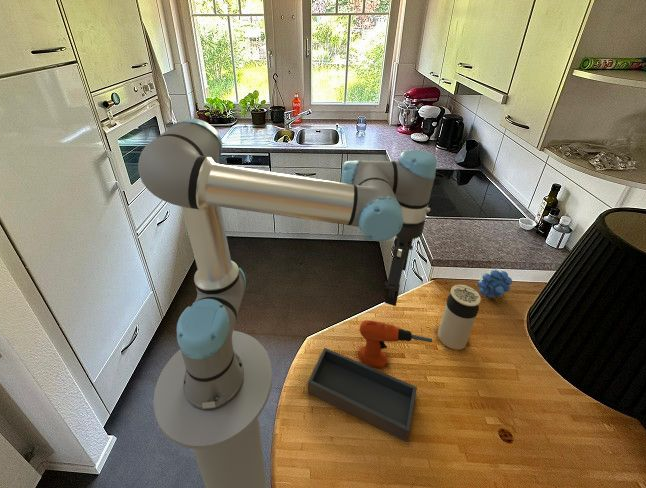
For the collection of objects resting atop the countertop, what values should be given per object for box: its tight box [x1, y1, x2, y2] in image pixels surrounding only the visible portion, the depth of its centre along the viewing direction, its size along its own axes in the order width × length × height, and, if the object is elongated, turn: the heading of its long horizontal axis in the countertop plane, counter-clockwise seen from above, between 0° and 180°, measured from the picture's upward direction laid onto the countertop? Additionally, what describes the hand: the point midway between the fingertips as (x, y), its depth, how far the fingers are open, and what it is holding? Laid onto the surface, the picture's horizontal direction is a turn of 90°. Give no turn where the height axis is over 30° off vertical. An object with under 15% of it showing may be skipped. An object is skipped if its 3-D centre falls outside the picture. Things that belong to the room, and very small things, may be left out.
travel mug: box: [437, 284, 482, 351], centre depth 92 cm, size 8×8×18 cm
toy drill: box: [358, 319, 433, 369], centre depth 85 cm, size 5×19×15 cm, turn 71°
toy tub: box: [307, 347, 418, 442], centre depth 81 cm, size 25×11×5 cm, turn 64°
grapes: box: [477, 269, 513, 299], centre depth 106 cm, size 12×7×12 cm, turn 95°
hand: (395, 285), depth 84 cm, fingers open, 13 cm apart
